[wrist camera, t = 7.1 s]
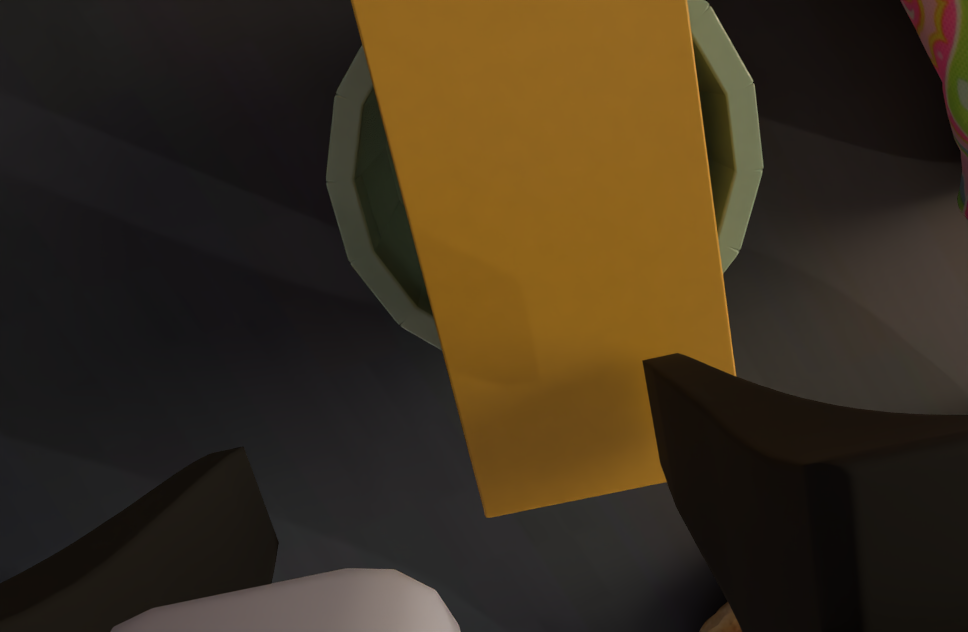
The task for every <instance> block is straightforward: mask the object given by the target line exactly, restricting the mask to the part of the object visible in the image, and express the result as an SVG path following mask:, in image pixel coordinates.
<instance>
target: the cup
mask: <svg viewBox="0 0 968 632" xmlns="http://www.w3.org/2000/svg"><path fill="white" fill-rule="evenodd" d="M687 2H688V10H689V17H690V25H691V33H692V40H693V48H694V56H695V64H696V71H697V79H698V87H699V94H700V102H701V110H702V117H703V125H704V133H705V140H706V148H707V156H708V163H709V171H710V179H711V187H712V194H713V202H714V210H715V217H716V225H717V233H718V240H719V248H720V256H721V263H722V271H723V273H724V272H725V271H726V269H727V268H728V267H729V265H730V264H731V263H732V262H733V260H734V259H735V258H736V256H737V255H738V253H739V251H738V250H740V249H741V247H742V243H743V240H744V236H745V233H746V229H747V226H748V222H749V219H750V215H751V212H752V208H753V205H754V201H755V198H756V194H757V191H758V187H759V184H760V180H761V177H762V173H763V172H762V169H763V168H764V165H763V156H762V146H761V137H760V128H759V119H758V109H757V100H756V91H755V84H754V83H753V79H752V77H751V75H750V74H749V72H748V70H747V68H746V66H745V65H744V63H743V61H742V59H741V58H740V56H739V54H738V52H737V51H736V49H735V47H734V45H733V43H732V42H731V40H730V38H729V36H728V35H727V33H726V31H725V29H724V28H723V26H722V24H721V22H720V21H719V19H718V17H717V15H716V13H715V12H714V10H713V8H712V7H711V6H709V3H708V2H707V1H705V0H687ZM336 94H337V95H335V97H334V103H333V112H332V122H331V131H330V140H329V150H328V159H327V169H326V181H327V182H326V186H327V190H328V193H329V197H330V200H331V204H332V207H333V210H334V214H335V217H336V221H337V224H338V228H339V231H340V234H341V238H342V241H343V245H344V248H345V251H346V255H347V258H348V260H349V261H350V264H351V266H352V267H353V268H354V270H355V271H356V272H357V273H358V275H359V276H360V277H361V279H362V280H363V281H364V282H365V284H366V285H367V286H368V287H369V289H370V290H371V291H372V292H373V294H374V295H375V296H376V297H377V299H378V300H379V301H380V303H381V304H382V305H383V306H384V308H385V309H386V310H387V311H388V313H389V314H390V315H391V316H392V318H393V319H394V320H395V322H396V323H397V324H399V325H400V324H401V325H400V326H401V327H402V328H403V329H405V330H407V331H409V332H410V333H412V334H414V335H416V336H417V337H419V338H421V339H423V340H424V341H426V342H428V343H429V344H431V345H433V346H435V347H436V348H438V349H440V350H442V348H441V344H440V341H439V337H438V333H437V329H436V325H435V321H434V318H433V314H432V310H431V306H430V302H429V298H428V295H427V291H426V287H425V283H424V279H423V275H422V272H421V268H420V264H419V260H418V256H417V252H416V249H415V245H414V241H413V237H412V233H411V229H410V226H409V222H408V218H407V214H406V210H405V207H404V203H403V199H402V195H401V191H400V187H399V184H398V180H397V176H396V172H395V168H394V164H393V161H392V157H391V153H390V149H389V145H388V141H387V138H386V134H385V130H384V126H383V122H382V118H381V115H380V111H379V107H378V103H377V99H376V95H375V92H374V88H373V84H372V80H371V76H370V72H369V69H368V65H367V61H366V57H365V53H364V49H363V46H362V45H361V46H360V48H359V50H358V52H357V54H356V55H355V57H354V59H353V61H352V63H351V65H350V66H349V68H348V70H347V72H346V74H345V76H344V77H343V79H342V81H341V83H340V85H339V86H338V88H337V90H336Z"/></svg>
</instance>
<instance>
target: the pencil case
mask: <svg viewBox="0 0 968 632" xmlns="http://www.w3.org/2000/svg"><path fill="white" fill-rule="evenodd" d="M900 1H901V3H902V5H903V7H904V8H905V10H906V12H907V14H908V16H909V18H910V20H911V22H912V24H913V26H914V28H915V29H916V31H917V33H918V35H919V38H920V40H921V42H922V44H923V46H924V48H925V50H926V52H927V54H928V56H929V58H930V60H931V62H932V64H933V65H934V67H935V69H936V71H937V73H938V75H939V77H940V79H941V81H942V83H943V84H942V89H943V94H944V100H945V105H946V111H947V115H948V118H949V122H950V125H951V129H952V132H953V136H954V139H955V141H956V143H957V145H958V147H959V149H960V151H961V162H962V174H961V182H960V189H959V193H958V198H957V200H958V205H959V208H960V210H961V212H962V213H963V214H964V216H965V217H966V218H967V219H968V0H900Z"/></svg>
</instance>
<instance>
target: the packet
mask: <svg viewBox="0 0 968 632" xmlns="http://www.w3.org/2000/svg"><path fill="white" fill-rule="evenodd" d="M351 3H352V7H353V11H354V15H355V19H356V23H357V26H358V30H359V34H360V38H361V42H362V46H363V49H364V53H365V57H366V61H367V65H368V69H369V72H370V76H371V80H372V84H373V88H374V92H375V95H376V99H377V103H378V107H379V111H380V115H381V118H382V122H383V126H384V130H385V134H386V138H387V141H388V145H389V149H390V153H391V157H392V161H393V164H394V168H395V172H396V176H397V180H398V184H399V187H400V191H401V195H402V199H403V203H404V207H405V210H406V214H407V218H408V222H409V226H410V229H411V233H412V237H413V241H414V245H415V249H416V252H417V256H418V260H419V264H420V268H421V272H422V275H423V279H424V283H425V287H426V291H427V295H428V298H429V302H430V306H431V310H432V314H433V318H434V321H435V325H436V329H437V333H438V337H439V341H440V344H441V348H442V352H443V356H444V360H445V364H446V367H447V371H448V375H449V379H450V383H451V387H452V390H453V394H454V398H455V402H456V406H457V410H458V413H459V417H460V421H461V425H462V429H463V433H464V436H465V440H466V444H467V448H468V452H469V455H470V459H471V463H472V467H473V471H474V475H475V478H476V482H477V486H478V490H479V494H480V498H481V501H482V505H483V509H484V513H485V516H486V517H487V518H491V517H495V516H500V515H505V514H510V513H515V512H520V511H525V510H530V509H535V508H540V507H545V506H550V505H555V504H560V503H565V502H570V501H575V500H580V499H585V498H589V497H594V496H599V495H604V494H609V493H614V492H619V491H624V490H629V489H634V488H639V487H644V486H649V485H654V484H659V483H664V482H667V481H666V478H665V475H664V472H663V470H662V467H661V464H660V459H659V454H658V448H657V442H656V437H655V431H654V425H653V419H652V414H651V408H650V402H649V397H648V391H647V385H646V379H645V374H644V368H643V362H642V360H647V359H651V358H656V357H661V356H665V355H670V354H674V353H680V354H683V355H686V356H688V357H691V358H693V359H696V360H698V361H700V362H703V363H705V364H707V365H710V366H712V367H714V368H717V369H719V370H722V371H724V372H726V373H729V374H731V375H734V376H736V371H735V363H734V356H733V348H732V340H731V333H730V325H729V317H728V310H727V302H726V294H725V286H724V279H723V271H722V263H721V256H720V248H719V240H718V233H717V225H716V217H715V210H714V202H713V194H712V187H711V179H710V171H709V163H708V156H707V148H706V140H705V133H704V125H703V117H702V110H701V102H700V94H699V87H698V79H697V71H696V64H695V56H694V48H693V40H692V33H691V25H690V17H689V10H688V2H687V0H351Z"/></svg>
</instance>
